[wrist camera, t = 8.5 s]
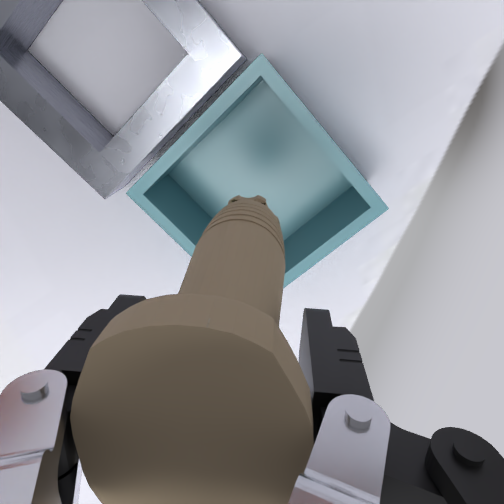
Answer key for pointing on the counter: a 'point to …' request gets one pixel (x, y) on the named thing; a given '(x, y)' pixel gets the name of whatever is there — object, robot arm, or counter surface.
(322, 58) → the counter surface
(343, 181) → the bin
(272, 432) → the handle
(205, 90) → the socket block
